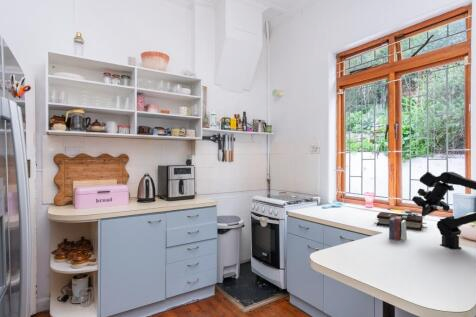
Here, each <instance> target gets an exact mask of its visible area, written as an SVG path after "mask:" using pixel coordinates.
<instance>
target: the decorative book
mask: <svg viewBox="0 0 476 317" xmlns="http://www.w3.org/2000/svg"><path fill="white" fill-rule="evenodd" d="M396 216H401V217H402V221H403V220H406V230H414V231H420V232H421V231H422V230H423V224H424V225H427V222H423V219H424V216H422V215H419V214H418V213H397V212H396V213H395V212H387V211H386V212H385V211H380V212H379V213H378V214H377V215H376V220H377V222H376V226H381V227H389V219H390V218H391V217H394V218H395V217H396Z"/></svg>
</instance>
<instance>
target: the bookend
mask: <svg viewBox="0 0 476 317" xmlns="http://www.w3.org/2000/svg"><path fill="white" fill-rule="evenodd" d="M401 229H402V238H401V241H402V242H405V241H406V240H407V239H408V236H407V229H406V220H403V221H402V222H401Z"/></svg>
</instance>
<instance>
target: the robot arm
mask: <svg viewBox="0 0 476 317" xmlns="http://www.w3.org/2000/svg"><path fill="white" fill-rule="evenodd" d="M419 182H420V183H421V184H423V185H424V186H426V187H428V188H432V190H425V189H424V188H419V189H418V190H417V192H416V193H417V194H418V196H417V195H415V196H412V198H411V200H412V202H413V203H414V204H416V206H418V207H421V215H420V216H423V217H426V216H428V215H431V214H432V213H434V212H438V211H439V209H438V208H442V210H443V212H449V210H450V209H451V207H450V205H449V204H448V203H447V202H445V201H444V200H445V195H446V194H447V192H448V191H449V192H451V191H455V188H454V185H456V186H462V187H465V188H468V189H472V190H474V191H476V180H473V179H469V178H467V177H464V176H463V175H461V174H459V173H456V172H454V171H444V172H442V173H441V174H439V175H437V176H436V175H434V174H432V173H431V172H430V171H426V172H425V173H424V174H423V175H422V176H421V177H420V178H419ZM421 196H422V197H421ZM475 222H476V212H473V213H470V214H466V215H462V216H460V217H455V216H454V215H452V216H451V215H450V216H446V217H445V218H439V220H438V221H437V223H436V227H437V229H438V231H439V233H440V235H441V244H439V246H441V247H443V248H447V249H451V250H457V249H458V250H459V249H462V247H461V246H460V235H461V234H462V230H461V229H460V227H461V226H464V225H468V224H471V223H475Z"/></svg>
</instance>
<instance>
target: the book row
mask: <svg viewBox="0 0 476 317" xmlns="http://www.w3.org/2000/svg"><path fill="white" fill-rule="evenodd" d="M401 222H402V217H401V216H396V217H395V218H394V217H391V218H390V219H389V226H388V228H389V229H388V240H395V241H400V240H402V229H401Z"/></svg>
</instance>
